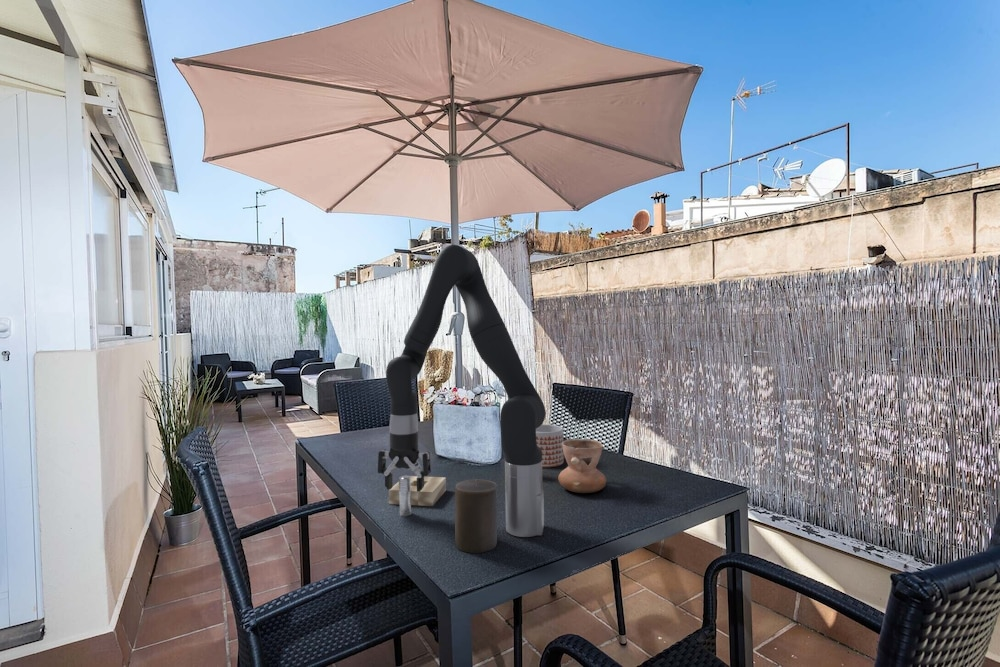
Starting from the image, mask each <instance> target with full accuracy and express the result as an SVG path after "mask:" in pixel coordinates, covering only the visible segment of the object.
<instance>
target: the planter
mask: <svg viewBox="0 0 1000 667" xmlns="http://www.w3.org/2000/svg"><path fill="white" fill-rule="evenodd" d="M562 442H564V428H563V427H562V426H559V425H556V424H548V423H545V424H543V423H542V425H541V426H539V427H538V428H536V443H537V446H538V447H540V448H541V450H542V469H543V468H544V469H547V468H550V469H551V468H556V467H559V466H562V465H563V464H564V463H565V462H564V458H565V457H564V452H563V447H562Z"/></svg>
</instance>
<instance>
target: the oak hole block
mask: <svg viewBox="0 0 1000 667" xmlns="http://www.w3.org/2000/svg"><path fill="white" fill-rule="evenodd" d="M409 476H410V483H411V506H423V507H433V506H435V505H436V503H437V502H438V500H439V499H440V498H441V497H442V496H443V495H444V493H445V492H446V491H447V480H446V479H447V478H446V477H443V476H424V487H423V489H422V490H421V491H420V492H419V491H417V478H418V477H417V475H409ZM388 504H389V505H400V501H399V481H398V482H397V483H395V484H394V485H392V488H391V489H390V490H388Z"/></svg>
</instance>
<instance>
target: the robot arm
mask: <svg viewBox="0 0 1000 667" xmlns="http://www.w3.org/2000/svg"><path fill="white" fill-rule="evenodd" d="M454 287H456V289H457V291H458V293H459V295H460V297H461V299H462V301H463V304H464V306H465V312H466V319H467V320H466V322H467V328H468V332H469V335H470V338H471V340H472V342H473V345H474V347H475V349H476V352H477V353H478V356H479V357H480V359H481V360H482V361H483V362H484V364H485V365H486V366H487V367H488V368H489V370H490V371H491V372H493V373H494V375H495V376H496V377H497V378H498V380H499V381H500V383H501V385H502V387H503V388H504V391H505V393H506V395H507V398H508V399H507V400H506V401H504V403H503V404H502V406H501V409H500V416H499V418H500V419H499V422H500V424H499V426H500V441H501V442H500V443H501V449H502V451H503V454H504V492H505V494H504V497H505V530H506V532H507V533H508V534H510V535H512V536H515V537H520V538H529V537H530V538H531V537H535V536H543V532H544V527H545V505H544V504H545V501H544V500H545V499H544V497H545V494H544V493H545V492H544V491H545V490H544V488H543V487H544V486H543V468H542V450H541V448H540V447H538V446H537V443H536V428H538V427H539V426H541V425H542V424H543V423H544V421H545V420H546V406H545V404H544V402H543V400H542V398H541V396H540V395H539V392H538V391H537V390H536V388H535V386H534V385H533V383H532V381H531V379H530V377H529V375H528V374H527V372H526V370H525V368H524V365H523V363H522V361H521V360H522V359H521V358H520V356H519V354H518V351H517V349H516V348H515V347H516V346H515V345H514V343H513V340H512V337H511V335H510V333H509V330H508V329H507V327H506V324H505V322H504V320H503V318H502V316H501V314H500V312H499V309H498V308H497V306H496V303H495V302H494V300H493V299H492V297H491V294H490V293H489V290H488V287H487V284H486V282H485V279H484V277H483V273H482V270H481V266H480V264H479V261H478V259H477V257H476V255H474V253H473V252H471V251H470V250H468V249H466V248H464V247H463V246H462V245H457V244H449V245H446V246H445V247H443V248H442V249H441V250H440V251H439V253H438V254H437V257H436V259H435V263H434V265H433V268H432V272H431V275H430V278H429V280H428V284H427V287H426V290H425V293H424V296H423V298H422V301H421V303H420V306H419V308H418V309H417V310H418V311H417V313H416V315H415V317H414V319H413V320H412V323H411V324H410V326H409V328H408V331H407V333H406V334H405V337H404V340H403V344H404V348H403V350H402V353H401V355H400V356H396V357H393V358H392V359H391V360H390V361H389V362H388V363H387V366H386V371H385V377H386V385H387V387H388V388H387V389H388V394H389V396H390V415H389V416H390V418H389V428H388V429H389V450H386V449H382V450H380V451H379V452H378V456H377V473H378V474H383V475H384V486H385V488H386V490H388V491H389V490H390V489H391V488H392V487H393V474H392V472H393V471H394V470H395V469H396V468H397V469H407V470H408V469H410V470H411V471H412V472H413V473H414V475H415V476H417V477H418V478H417V491H419V492H420V491H421V490H422V489H423V487H424V476H425V477H428V475H430V473H431V472H432V469H431V468H432V465H431V453H430V451H428V450H427V451H426V452H420V451H419V418H418V397H417V393H415V391H413V384H412V381H413V380H415V379H416V378H417V377H418V376H419V374H420V373H421V371H422V369H423V366H424V363H425V361H426V357H427V353H428V351H429V349H430V347H431V346H432V343H433V341H434V340H435V338H436V336H437V334H438V332H439V329H440V328H441V323H442V320H443V315H444V309H445V306H446V301H447V299H448V296H449V295H450V293H451V291H452V290H453V288H454ZM388 457H389V460H391V462H390V464H389V465H388V466H387V467H386V465H387V459H388ZM419 458H420V461H421V462H422V466H421V464H420V462H419V461H418V460H419ZM422 467H423V468H422Z"/></svg>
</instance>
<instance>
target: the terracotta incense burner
mask: <svg viewBox="0 0 1000 667" xmlns="http://www.w3.org/2000/svg"><path fill="white" fill-rule="evenodd" d="M562 447H563V456H564V458H565V461H566V463H567V466H566V468H564V469H562V470H561V471H560V473H559V474H558V477H557V478H558V479H557V480H558V482H559V484H560V485H561V487H563V488H564V489H566V490H567V491H570V492H573V493H576V494H591V493H596V492H598V491H601V490H602V489H604V487H606V485H607V477H606V475H605V474H604V473H603V472H601V470H599V469H597V466H598V463H599V461H600V458H601V455H602V452H603V447H604V446H603V443H602V442H599V441H598V440H594V439H593V440H592V439H588V438H571V439H566V440H563V442H562Z"/></svg>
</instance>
